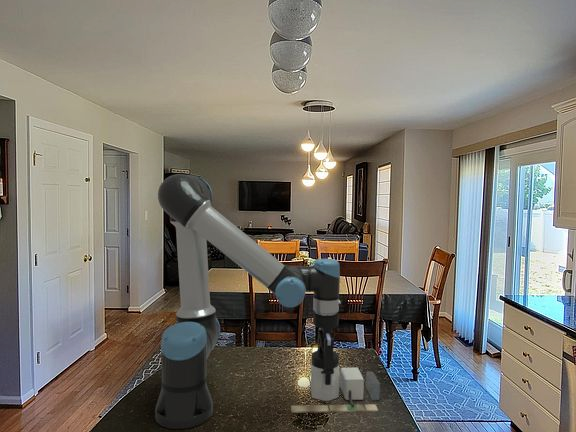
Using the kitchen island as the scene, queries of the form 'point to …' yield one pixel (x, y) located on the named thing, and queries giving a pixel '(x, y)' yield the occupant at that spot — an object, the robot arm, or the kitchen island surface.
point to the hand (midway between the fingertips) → (324, 386)
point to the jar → (317, 376)
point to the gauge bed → (333, 408)
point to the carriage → (351, 384)
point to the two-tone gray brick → (373, 385)
